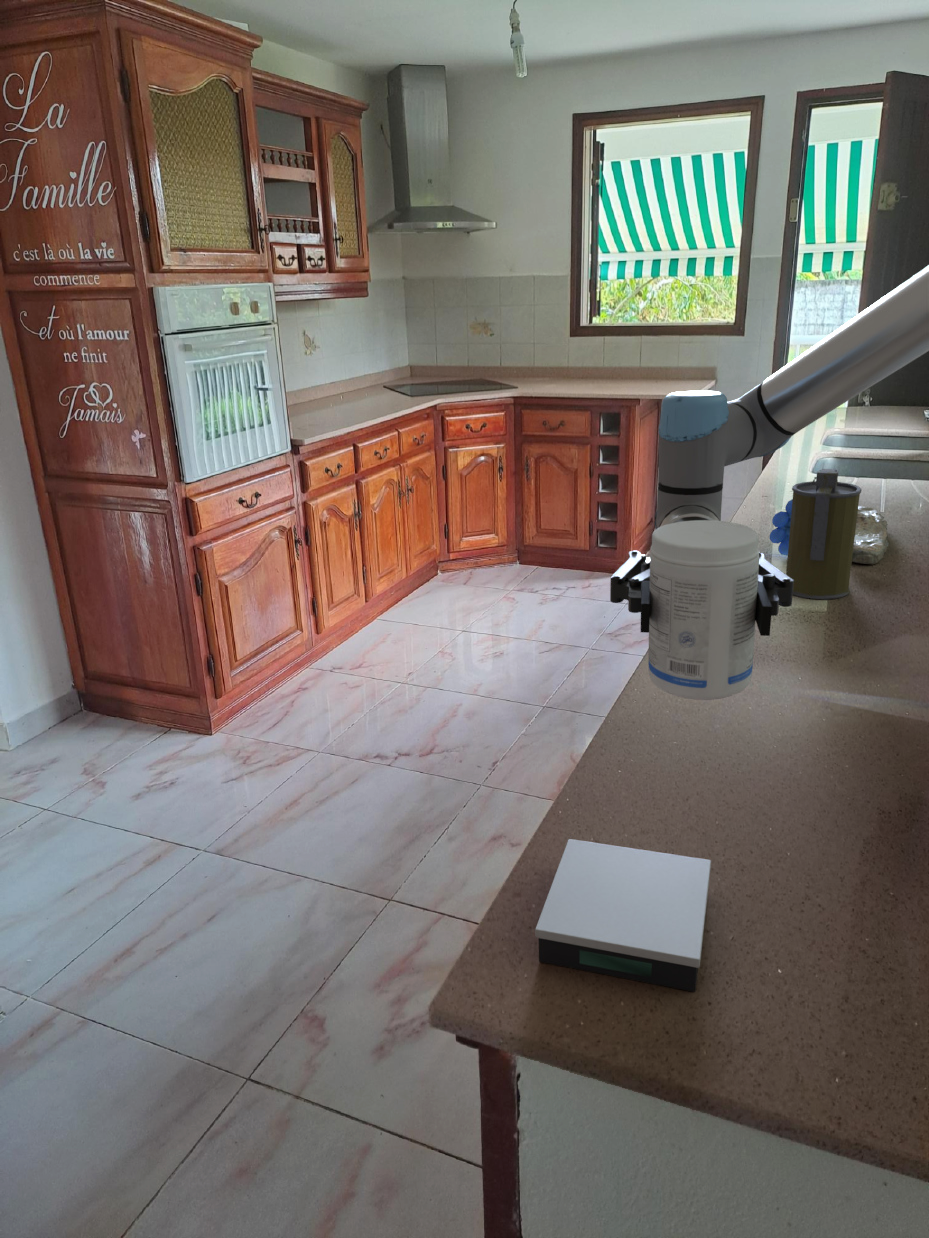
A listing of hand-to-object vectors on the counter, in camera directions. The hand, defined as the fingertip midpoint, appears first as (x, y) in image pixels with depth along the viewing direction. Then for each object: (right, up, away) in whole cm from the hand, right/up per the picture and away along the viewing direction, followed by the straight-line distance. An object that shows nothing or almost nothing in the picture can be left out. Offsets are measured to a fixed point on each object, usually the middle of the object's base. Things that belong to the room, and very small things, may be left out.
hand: (705, 619), depth 77 cm
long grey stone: (+57, +15, +97) cm, 113 cm away
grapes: (+42, +12, +89) cm, 99 cm away
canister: (+38, +5, +71) cm, 81 cm away
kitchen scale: (-8, -25, -4) cm, 27 cm away
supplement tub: (+1, -6, +7) cm, 9 cm away
